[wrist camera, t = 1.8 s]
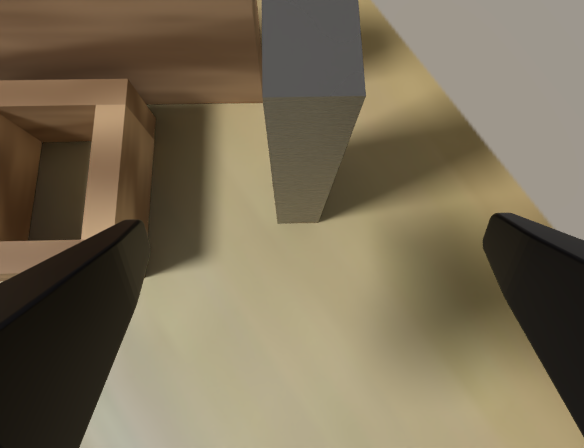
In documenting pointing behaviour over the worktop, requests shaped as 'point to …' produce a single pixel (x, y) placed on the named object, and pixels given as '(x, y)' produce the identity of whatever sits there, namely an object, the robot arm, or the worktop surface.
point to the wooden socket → (108, 97)
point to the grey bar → (309, 98)
